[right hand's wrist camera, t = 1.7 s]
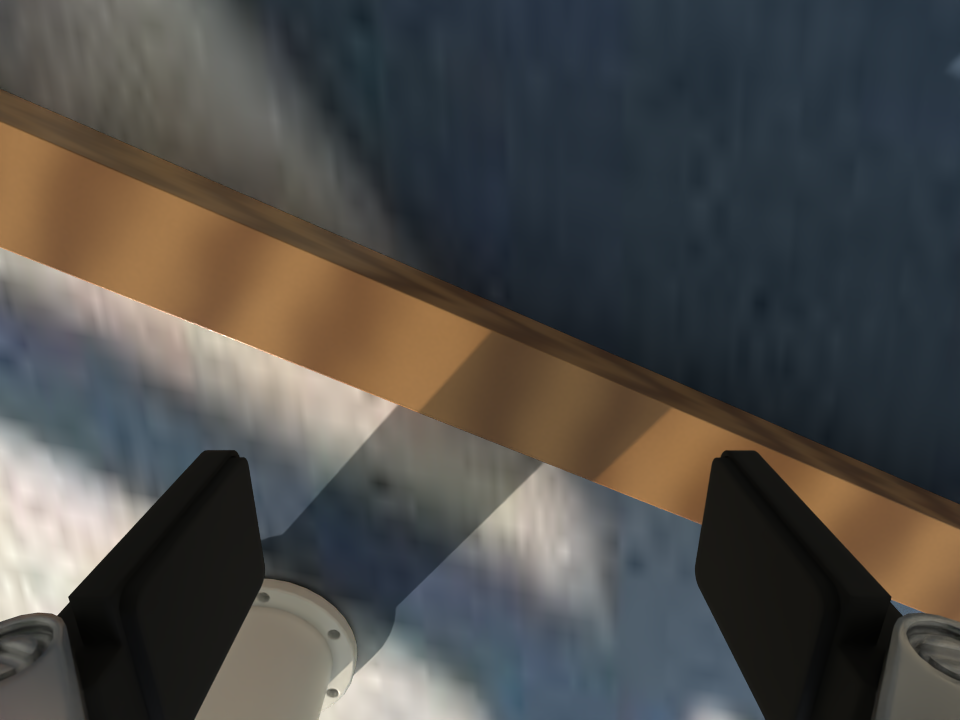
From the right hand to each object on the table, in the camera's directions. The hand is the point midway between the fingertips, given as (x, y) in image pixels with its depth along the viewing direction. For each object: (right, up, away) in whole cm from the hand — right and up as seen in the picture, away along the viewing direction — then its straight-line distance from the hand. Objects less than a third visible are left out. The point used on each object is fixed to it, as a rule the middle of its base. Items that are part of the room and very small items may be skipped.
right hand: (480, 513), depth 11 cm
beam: (+1, +4, +22) cm, 22 cm away
